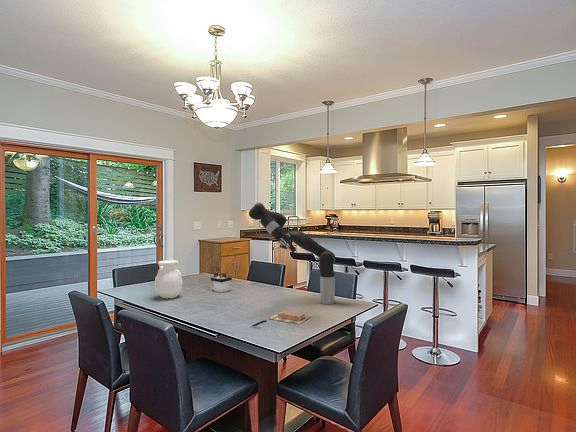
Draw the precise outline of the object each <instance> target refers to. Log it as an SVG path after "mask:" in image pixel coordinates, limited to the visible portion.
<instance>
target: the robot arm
mask: <svg viewBox="0 0 576 432" xmlns="http://www.w3.org/2000/svg"><path fill="white" fill-rule="evenodd" d="M248 216H249V218H251V219H252V220H255V221H260V222H259V223H260V224H261V226H263V228H264V230H266V231H267V232H268V234H269V235H270V236H272V238H273V239H274V240H275V241H277V242H278V243H279V248H281V249H285V250H288V249H289V250H290V251H291V252H292V253H295V252H296V251H297V249H296V247H295V246H294V245H293V243H294V244H295V245H296V246H298V247H299V248H301V250H305V251H306V252H309V253H311V254H312V255H313V254H314V255H315V256H316V257H317V258H318V259H319V260H318V266H319V269H318V270H319V276H320V277H319V278H320V280H319V281H320V284H319V285H320V287H319V288H320V294H319V295H320V296H319V297H320V299H319V301H320V304H322V305H333V304H335V302H336V301H335V300H336V299H335V290H336V289H335V285H336V283H335V281H336V280H335V277H336V276H335V270H334V263H335V262H336V254H335V253H334V252H333V251H331V250H329V249H327V248H325V247H324V246H322V245H320V244H319V243H318V242H317V241H315V240H314V239H313V238H312V237H310V236H309V235H307V234H306V233H304V232H303V231H301V230H287V229H284V228H283V227H284V226H285V225H286V223H287V221H288V219H287V217H286V216H285V215H283V214H282V213H280V212H277V211H270V210H268V209H267V208H266V207H265V205H264V204H263V203H262V202H256V203H255V204H254V205H253V206H252V208H250V209H249V211H248Z"/></svg>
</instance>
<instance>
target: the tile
mask: <svg viewBox="0 0 576 432" xmlns="http://www.w3.org/2000/svg"><path fill="white" fill-rule="evenodd" d="M277 314H278V317H279V318H282V319H289V320H295V321H300V320H302V319H303V318H305V316H306V312H302V311H296V310H288V309H284V310H281V311H280V312H278V313H277Z"/></svg>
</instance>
